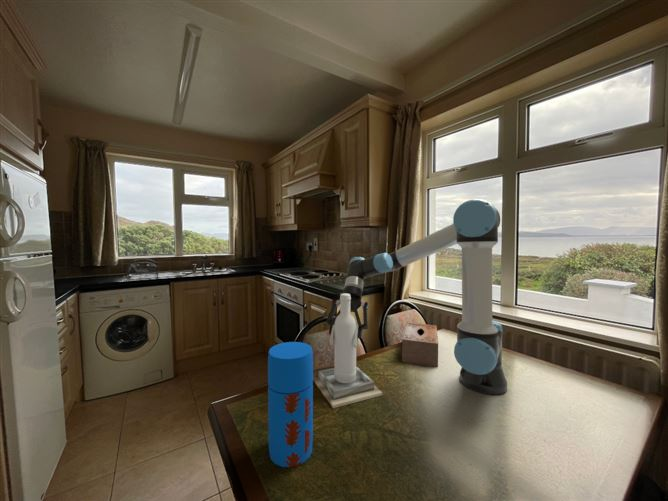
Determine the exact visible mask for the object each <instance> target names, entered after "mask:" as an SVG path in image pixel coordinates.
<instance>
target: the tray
mask: <svg viewBox="0 0 668 501" xmlns="http://www.w3.org/2000/svg"><path fill="white" fill-rule="evenodd" d="M313 383H315V385H316V386H317V388H318V389H319V390H320V392H321V394H323V396H324V398H325V399H326V401H327V402H328V403H329V405H330V406H331V408H332V409H336V408H341V407H343V406H347V405H351V404H355V403H359V402H363V401H366V400H370V399H373V398H377V397H382V396H383V391H381V390H380V389H379V388H378V387H377V386H376V385H375V381H374V380H373V379H372V378H370V376H368V374H366V373H365V372H364V371H362V370H361V369H360V368H359V367H358V366H357V365H356V380H355V381H353V382H351V383H340V382H338V381H336V380H335V378H334V363H330V364H324V365H320V366H315V367H314V366H313Z"/></svg>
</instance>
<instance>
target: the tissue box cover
mask: <svg viewBox="0 0 668 501" xmlns="http://www.w3.org/2000/svg"><path fill="white" fill-rule="evenodd" d="M404 328H405V329H404V332H403V335H402V339H401V345H402V346H401V350H402V351H401V358H402V359H401V362H403V363H408V364H416V365H422V366H423V365H424V366H429V367H436V368H438V367H439V338H438V329H437V328H438V327H437V325H436V324H435V325H434V324H425V323H413V322H406V324H405V327H404Z"/></svg>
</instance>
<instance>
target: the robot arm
mask: <svg viewBox="0 0 668 501" xmlns="http://www.w3.org/2000/svg"><path fill="white" fill-rule="evenodd" d="M452 221H453V223H451V224H450V225H447V226H445V227H443V228H440V229H439V230H437V231H435V232H433V233H431V234H428V235H427V236H424V237H422V238H420V239H417V240H415V241H414V242H412V243H409V244H408V245H406V246H403V247H401V248H399V249H397V250H395V251H393V252H391V253H388V252H383V253H378V254H376V255H373V256H370V257H367V258H365V257H361V256H353V257H352V258H350V261H349V264H348V266H347V272H346V277H345V282H344V287H343V291H342V294H344V293H346V294H350V297H351V300H350V313H354V316H355V321H356V322H357V323H356V324H357V325H358V326H356V331H355V337H354V343H353V345H354V348H356V349H357V347H358V342H359V339H361V338H362V335H363V331H364V330H368V329H369V327H368V326H369V324H368V309H369V303H368V302H367V301H365V302H362V296H363V290H364V284H365V279H367V278H370V277H372V276H377V275H380V274H386V273H390V272H396V271H398V270H400V269H401V268H403V267H406V266H409V265H410V264H413V263H415V262H417V261H420V260H422V259H425V258H427V257H430V256H432V255H434V254H437V253H440V252H441V251H444V250H446V249H448V248H450V247H453V246H455V245H458V246H459V247H460V248H461V321H460V322H459V323H457V325H456V338H457V339H456V343H455V345H454V349H453V354H454V359H455V361H456V362H457V364H458V365H460V366H461V369H460V371H459V380H460V383H461V384H463V385H464V386H465V387H466V388H468V389H470V390H472V391H475V392H478V393H482V394H486V395H501V394H505V393H506V392H507V391H508V381H507V379H506V375H505V372H504V369H503V366H502V364H503V362H502V359H503V334H504V331H503V326H502V324H501V323H500V322H497V321H493V248H494V247H495V245H497V244H498V241H499V239H498V238H499V237H498V236H499V232H498V230H499V227H500V224H501V215H500V212H499V210H498V209H497V208H496V207H495V206H494V205H493V203H491V202H490V201H488V200H486V199H480V198H479V199H478V198H473V199H469V200H466V201H464V202H463V203H461V204H460V205H459V206H458V207H457V208H456V210H455V212H454V214H453V218H452ZM339 306H340V300H336V299H333V300H332V306H331V309H330V311H329V313H328V316H327V318H326V321H325V322H326V325H327V326H328V327H329V331H328V334H329V341H328V342H329V345H330V347H331V346H334V324H335V320H336V317H337V316H338V315H339V314H340V309H339V310H338V308H339ZM360 308H362V310H363V311H362V312H363V313H362V316H363V318H362V319H363V323H362V322H361V318H360V315H359V312H358V309H360ZM337 310H338V311H337Z"/></svg>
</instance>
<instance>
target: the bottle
mask: <svg viewBox="0 0 668 501" xmlns="http://www.w3.org/2000/svg"><path fill="white" fill-rule="evenodd" d="M350 300H351V297H350V294H346V293H344V294H343V293H340V297H339V301H340V305H339V306H340V308H339V310H340V314H339V315H338V316H337V317H336V320H335V324H334V343H333V346H334V356H333V357H334V363H333V364H334V378H335V380H336V381H338V382H340V383H351V382H353V381H355V380H356V366H357V348H354V345H353V343H354V337H355V331H356V327H357V323H356V322H357V320H356V317H354V316H353V315H352V314H351V312H350Z"/></svg>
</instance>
